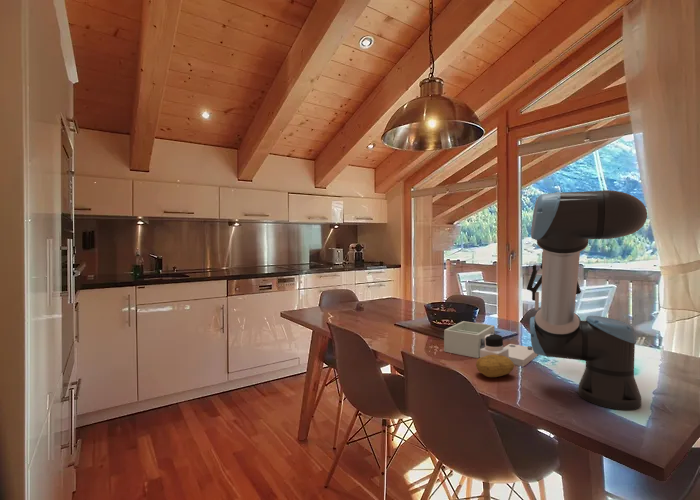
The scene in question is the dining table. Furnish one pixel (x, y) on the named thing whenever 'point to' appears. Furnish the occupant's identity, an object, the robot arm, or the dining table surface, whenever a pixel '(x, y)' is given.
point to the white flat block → (520, 354)
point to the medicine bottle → (494, 346)
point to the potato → (494, 365)
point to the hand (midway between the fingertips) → (552, 311)
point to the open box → (466, 338)
